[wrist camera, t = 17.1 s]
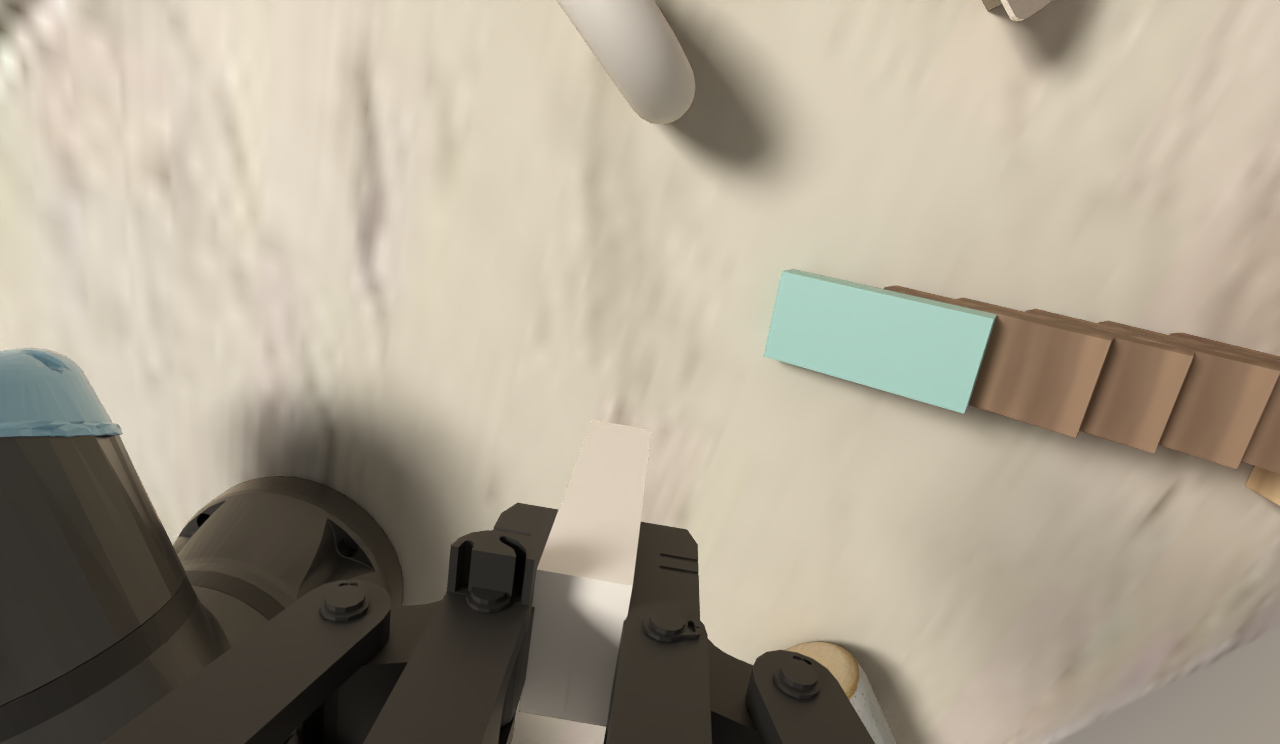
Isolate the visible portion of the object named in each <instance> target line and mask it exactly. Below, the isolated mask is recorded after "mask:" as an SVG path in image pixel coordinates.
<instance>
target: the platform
mask: <svg viewBox="0 0 1280 744" xmlns="http://www.w3.org/2000/svg"><path fill="white" fill-rule="evenodd" d="M982 1H983V3H984V5H985V7H986V9H987V11H989V10H991V9H993V8H995V7H997V6H999V5H1001V4H1003V6H1004V8H1005V10H1006V12H1007V14H1008V16H1009V17H1010V19H1011V20H1013V21H1021V20H1024V19H1026V18H1028V17H1030V16H1031V15H1033V14H1034V13H1036V12H1037V11H1039V10H1040V9H1042V8H1043V7H1044V6H1046V5H1047V4H1049V3H1050V1H1051V0H982Z"/></svg>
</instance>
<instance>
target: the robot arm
mask: <svg viewBox="0 0 1280 744" xmlns="http://www.w3.org/2000/svg"><path fill="white" fill-rule="evenodd" d="M121 434H123V433H122V432H121V428H120V426H119V425H118V424H114V423H113V422H112V421H111V419H110V417H109V416H108V414H107V412H106V410H105V409H104V407H103V405H102V404H101V402H100V400H99V398H98V397H97V395H96V393H95V391H94V390H93V388H92V386H91V385H90V383H89V381H88V379H87V378H86V376H85V374H84V372H83V371H82V370H81V368H80V367H79V366H78V365H77V364H76V363H75V362H73V361H72V360H71V359H69V358H68V357H66V356H64V355H62V354H59V353H57V352H53V351H50V350H45V349H36V348H23V349H14V350H5V351H0V744H511V741H512V737H513V730H514V722H515V714H516V709H517V706H518V703H519V700H520V706H519V712H525V713H530V714H536V715H542V716H548V717H553V718H559V719H565V720H571V721H576V722H582V723H588V724H594V725H600V726H605V727H606V732H605V738H604V744H875V742H874V741H873V739H872V737H871V736H870V734H869V732H868V731H867V729H866V727H865V726H864V724H863V722H862V721H861V719H860V717H859V716H858V714H857V712H856V711H855V709H854V707H853V705H852V704H851V702H850V700H849V699H848V697H847V695H846V694H845V692H844V690H843V689H842V687H841V685H840V684H839V682H838V680H837V679H836V678H835V677H834V676H833V675H832V673H831V672H830V671H829V670H828V669H827V668H826V667H824V666H823V665H821V664H820V663H819V662H817V661H816V660H814V659H813V658H810V657H808V656H805V655H802V654H800V653H797V652H792V651H785V650H777V651H770V652H766V653H764V654H763V655H761V656H760V657H758V658H757V659H756V661H755V663H754V666H753V665H751V664H748V663H746V662H743V661H741V660H738V659H736V658H734V657H732V656H730V655H728V654H726V653H724V652H723V651H721V650H720V649H719V648H717V647H716V646H714V645H713V644H712V642H711V641H710V640H709V639H708V638H707V633H706V630H705V627H704V624H703V623H702V622H701V621H700V605H699V575H698V544H697V543H696V542H695V540H694V539H693V537H692V536H691V534H690V533H689V532H688V530H686V529H680V528H675V527H669V526H663V525H657V524H651V523H645V522H641V515H642V507H643V499H644V491H645V483H646V475H647V467H648V459H649V451H650V442H651V434H652V430H650V429H644V428H638V427H632V426H626V425H620V424H614V423H608V422H602V421H596V420H591V423H590V425H589V428H588V431H587V433H586V436H585V439H584V442H583V444H582V447H581V450H580V453H579V455H578V458H577V461H576V464H575V466H574V469H573V472H572V474H571V477H570V480H569V483H568V485H567V488H566V491H565V494H564V496H563V499H562V502H561V505H560V507H559V510H557V509H551V508H545V507H539V506H534V505H528V504H522V503H517V504H515V505H513V506H512V507H510V508H509V509H507V510H506V511H504V512H502V513H501V515H500V517H499V519H498V521H497V522H496V524H495V526H494V530H492V531H480V532H474V533H470V534H468V535H465V536H463V537H461V538H459V539H458V540H457V541H456V542H454V543H453V544H452V545H451V550H450V562H449V574H448V586H447V592H446V594H445V596H444V598H443V600H441V601H438V602H434V603H431V604H425V605H417V606H401V603H402V596H403V581H402V574H401V569H400V565H399V562H398V559H397V556H396V554H395V551H394V549H393V547H392V545H391V543H390V541H389V540H388V538H387V536H386V535H385V533H384V532H383V531H382V529H381V528H380V527H379V525H378V524H377V523H376V522H375V521H374V520H373V519H372V518H371V517H370V516H369V515H368V514H367V513H366V512H365V511H364V510H363V509H362V508H361V507H359V506H358V505H357V504H356V503H354V502H353V501H351V500H350V499H348V498H347V497H345V496H344V495H342V494H340V493H338V492H336V491H334V490H332V489H330V488H328V487H326V486H323V485H321V484H318V483H315V482H311V481H308V480H303V479H298V478H291V477H265V478H258V479H254V480H250V481H246V482H243V483H241V484H238V485H236V486H234V487H232V488H230V489H229V490H227V491H225V492H224V493H222V494H221V495H220V496H218V497H217V498H215V499H214V500H213V501H211V502H210V503H208V504H207V505H206V506H204V507H203V508H202V509H201V510H199V511H198V512H197V513H196V514H195V515H194V516H193V517H192V518H191V519H190V521H189V522H188V523H187V524H186V526H185V527H184V528H183V530H182V532H181V533H180V535H179V537H178V538H177V540H176V541H175V543H174V544H173V545H172V543H171V541H170V539H169V537H168V535H167V533H166V531H165V529H164V527H163V525H162V523H161V521H160V519H159V517H158V515H157V513H156V511H155V509H154V507H153V505H152V503H151V501H150V499H149V497H148V495H147V493H146V491H145V488H144V486H143V484H142V482H141V480H140V478H139V476H138V474H137V472H136V470H135V468H134V466H133V464H132V462H131V460H130V458H129V455H128V453H127V451H126V449H125V447H124V445H123V442H122V440H121V438H120V436H119V435H121ZM520 696H521V698H520Z"/></svg>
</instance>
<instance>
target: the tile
mask: <svg viewBox="0 0 1280 744" xmlns="http://www.w3.org/2000/svg"><path fill="white" fill-rule="evenodd" d="M996 316H997V314H993V313H988V312H984V311H979V310H975V309H970V308H966V307H961V306H957V305H952V304H948V303H943V302H939V301H934V300H930V299H925V298H921V297H916V296H912V295H907V294H903V293H898V292H894V291H889V290H885V289H880V288H876V287H871V286H867V285H862V284H858V283H853V282H849V281H844V280H840V279H835V278H831V277H826V276H822V275H817V274H813V273H808V272H804V271H799V270H795V269H792V270H786V271H782V273H781V278H780V283H779V287H778V292H777V297H776V301H775V306H774V311H773V315H772V320H771V325H770V329H769V334H768V339H767V343H766V348H765V353H764V356H765V357H768V358H772V359H775V360H779V361H782V362H785V363H789V364H792V365H796V366H799V367H803V368H806V369H810V370H813V371H817V372H820V373H824V374H827V375H831V376H834V377H838V378H841V379H845V380H848V381H852V382H855V383H859V384H862V385H866V386H869V387H872V388H876V389H879V390H883V391H886V392H890V393H893V394H897V395H900V396H904V397H907V398H911V399H914V400H918V401H921V402H925V403H928V404H932V405H935V406H939V407H942V408H946V409H949V410H953V411H956V412H959V413H963V414H964V413H965V411H966V409H967V407H968V405H969V402H970V399H971V396H972V393H973V390H974V386H975V383H976V380H977V377H978V374H979V370H980V367H981V364H982V361H983V358H984V354H985V351H986V348H987V345H988V342H989V338H990V335H991V332H992V329H993V325H994V322H995V319H996Z"/></svg>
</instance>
